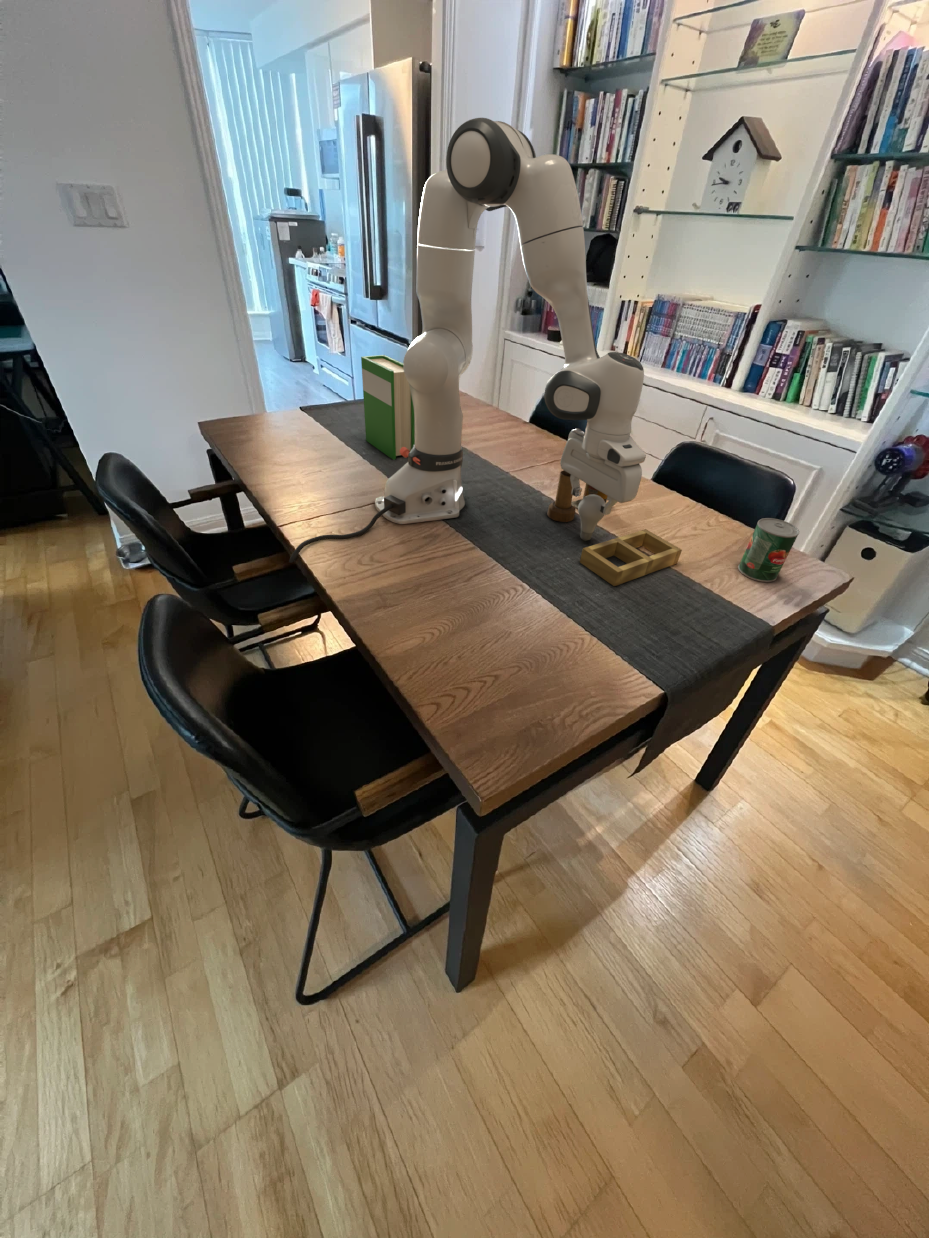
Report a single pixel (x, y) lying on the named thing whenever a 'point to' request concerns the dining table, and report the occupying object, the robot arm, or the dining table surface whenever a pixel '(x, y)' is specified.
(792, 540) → the canned tomato
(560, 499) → the mortar and pestle
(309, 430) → the dining table surface
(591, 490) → the condiment
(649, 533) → the rack
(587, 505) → the lightbulb
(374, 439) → the hardback book
